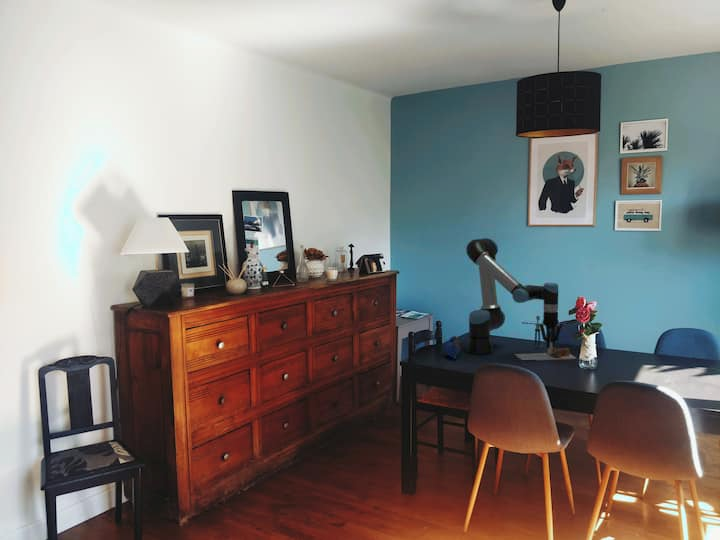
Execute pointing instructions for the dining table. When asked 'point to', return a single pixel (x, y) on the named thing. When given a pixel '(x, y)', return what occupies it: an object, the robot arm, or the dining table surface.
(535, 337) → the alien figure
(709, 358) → the dining table surface
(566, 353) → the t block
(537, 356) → the mat
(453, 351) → the toy
